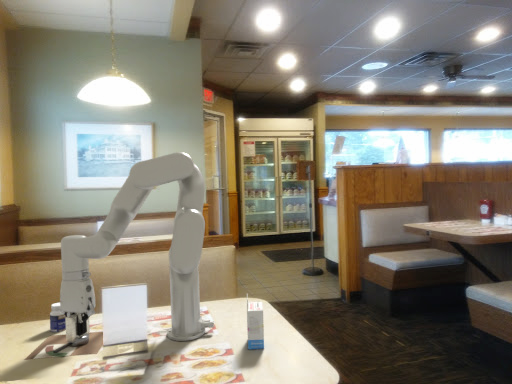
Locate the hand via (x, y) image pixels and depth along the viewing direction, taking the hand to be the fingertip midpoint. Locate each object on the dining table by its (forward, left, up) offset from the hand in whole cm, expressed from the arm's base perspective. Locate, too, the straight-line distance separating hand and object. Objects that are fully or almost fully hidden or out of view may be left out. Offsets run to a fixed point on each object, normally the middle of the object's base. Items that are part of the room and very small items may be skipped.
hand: (78, 333), depth 115 cm
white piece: (+1, +3, -3) cm, 4 cm away
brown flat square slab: (+2, 0, -4) cm, 5 cm away
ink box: (-55, +8, -5) cm, 56 cm away
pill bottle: (+11, -14, -5) cm, 18 cm away
